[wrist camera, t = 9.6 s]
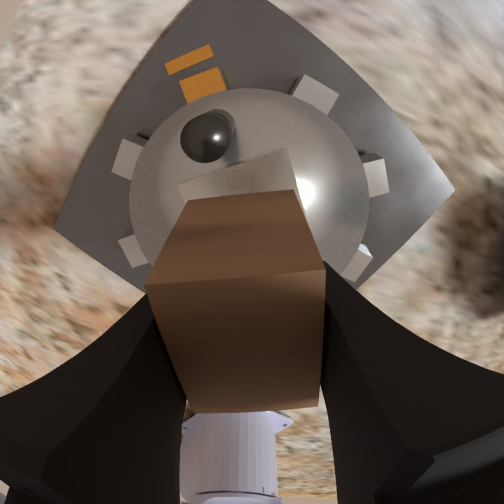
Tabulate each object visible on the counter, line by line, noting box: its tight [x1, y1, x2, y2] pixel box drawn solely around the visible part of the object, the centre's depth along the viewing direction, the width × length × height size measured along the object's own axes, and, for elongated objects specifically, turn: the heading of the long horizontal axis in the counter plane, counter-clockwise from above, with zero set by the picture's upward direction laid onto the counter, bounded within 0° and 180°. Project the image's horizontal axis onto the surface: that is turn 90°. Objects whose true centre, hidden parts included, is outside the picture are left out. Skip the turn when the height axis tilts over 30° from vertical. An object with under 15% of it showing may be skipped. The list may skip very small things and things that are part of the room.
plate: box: [53, 0, 455, 293], centre depth 17 cm, size 18×18×1 cm
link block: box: [144, 189, 326, 414], centre depth 9 cm, size 4×4×5 cm
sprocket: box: [111, 67, 389, 282], centre depth 14 cm, size 14×14×6 cm
